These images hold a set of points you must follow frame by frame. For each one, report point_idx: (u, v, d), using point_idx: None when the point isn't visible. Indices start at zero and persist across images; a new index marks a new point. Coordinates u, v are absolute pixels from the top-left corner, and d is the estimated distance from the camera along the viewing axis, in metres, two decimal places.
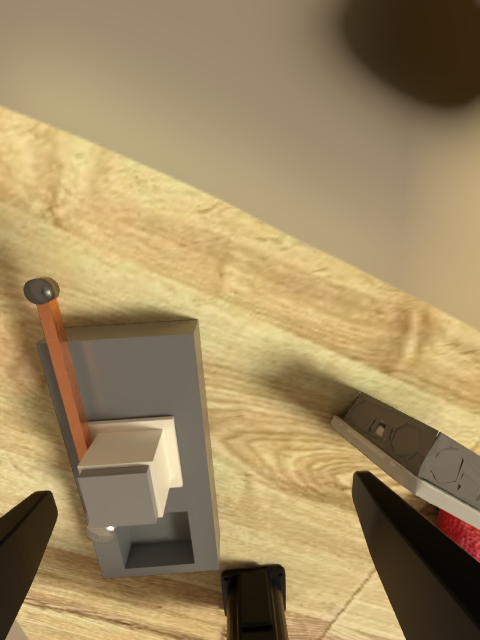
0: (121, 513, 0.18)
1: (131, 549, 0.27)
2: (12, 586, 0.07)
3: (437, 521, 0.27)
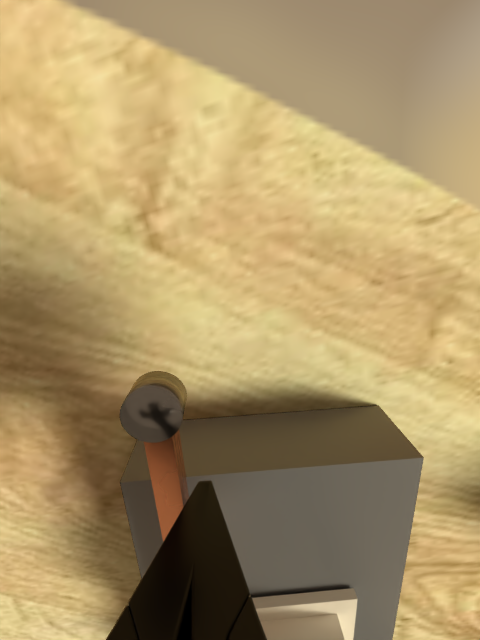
0: None
1: None
2: None
3: None
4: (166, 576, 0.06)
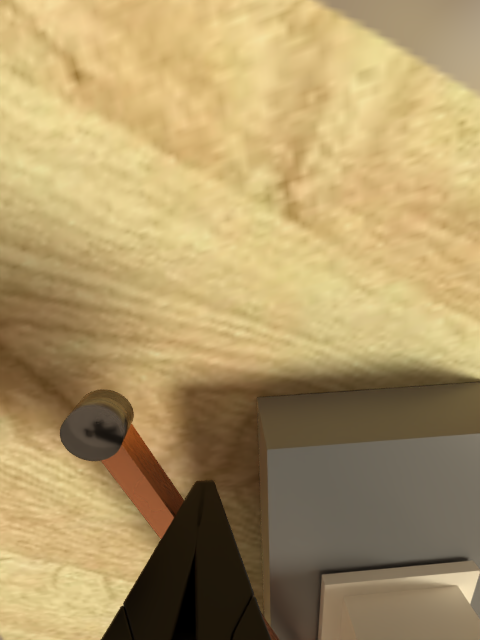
0: None
1: None
2: None
3: None
4: (161, 576, 0.06)
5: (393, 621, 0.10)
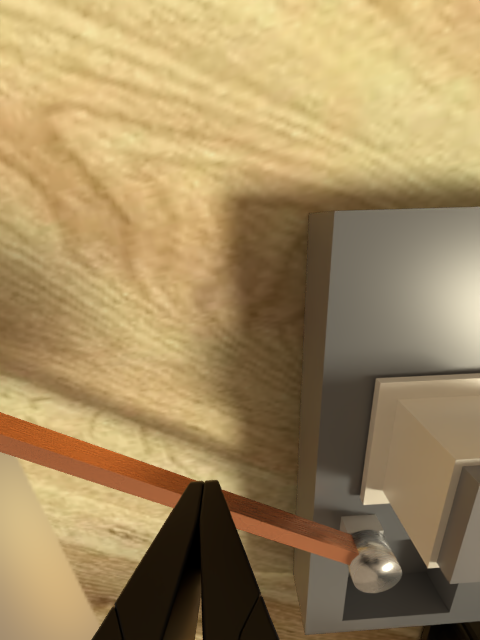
0: None
1: None
2: (198, 573, 0.07)
3: None
4: (153, 577, 0.06)
5: (452, 411, 0.10)
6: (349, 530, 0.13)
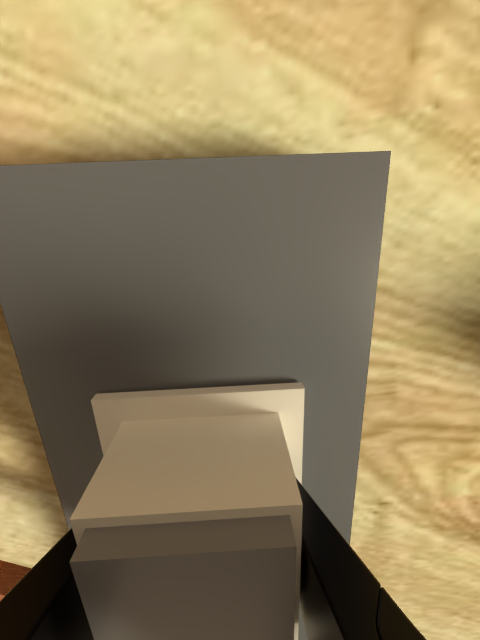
0: None
1: None
2: None
3: None
4: (38, 585, 0.06)
5: (167, 439, 0.08)
6: None
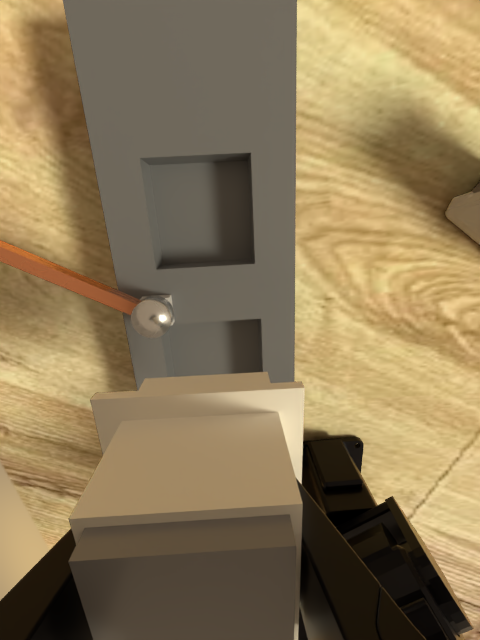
0: None
1: None
2: None
3: None
4: (37, 585, 0.06)
5: (167, 438, 0.08)
6: (142, 299, 0.16)
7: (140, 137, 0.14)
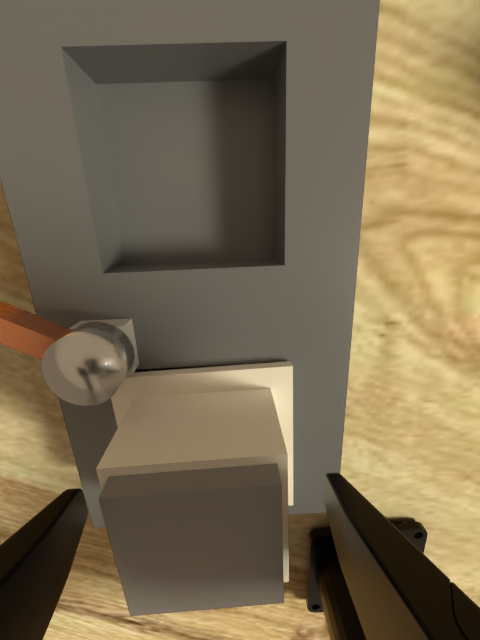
0: (204, 582, 0.07)
1: None
2: (49, 583, 0.07)
3: None
4: None
5: (174, 410, 0.09)
6: (74, 327, 0.09)
7: None
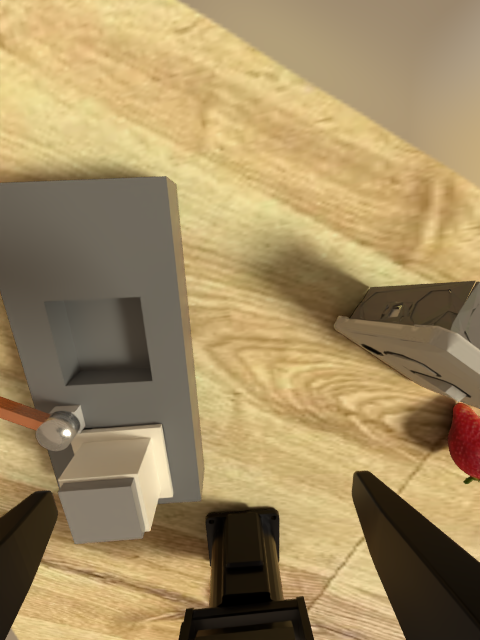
0: (105, 528, 0.17)
1: None
2: (12, 586, 0.07)
3: (450, 433, 0.23)
4: None
5: (99, 450, 0.19)
6: (51, 412, 0.18)
7: (43, 286, 0.17)
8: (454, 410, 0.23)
